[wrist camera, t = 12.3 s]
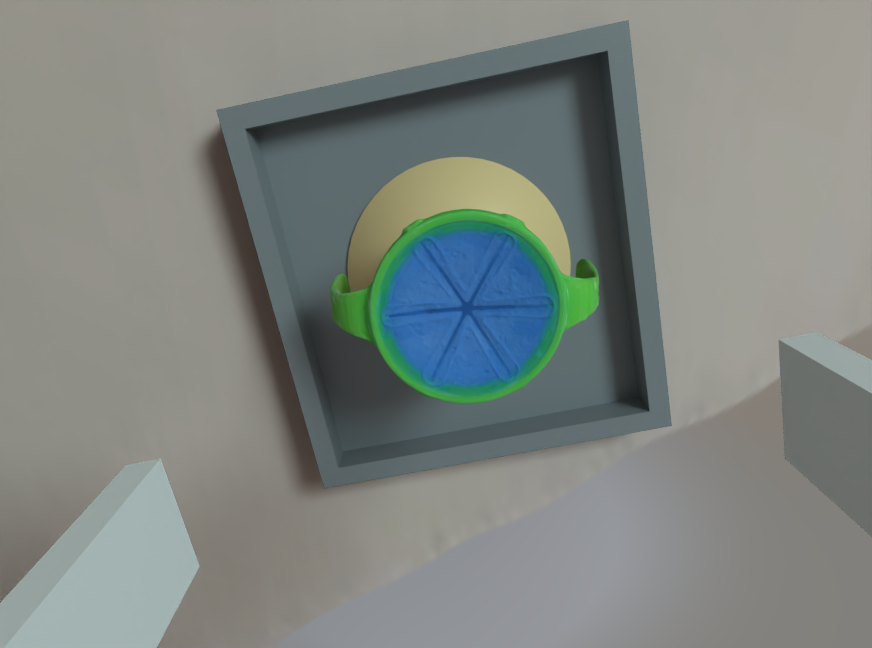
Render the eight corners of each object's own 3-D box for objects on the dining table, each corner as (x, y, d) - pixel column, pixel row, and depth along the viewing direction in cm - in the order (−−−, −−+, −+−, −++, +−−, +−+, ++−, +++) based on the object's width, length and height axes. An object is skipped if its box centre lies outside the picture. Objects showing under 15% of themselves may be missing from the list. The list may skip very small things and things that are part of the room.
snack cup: (584, 199, 30) (630, 218, 23) (567, 351, 33) (604, 412, 25) (345, 187, 30) (317, 203, 23) (344, 341, 32) (318, 399, 25)
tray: (332, 463, 36) (324, 488, 33) (234, 112, 30) (216, 110, 28) (654, 404, 34) (671, 425, 32) (612, 30, 29) (628, 20, 27)
